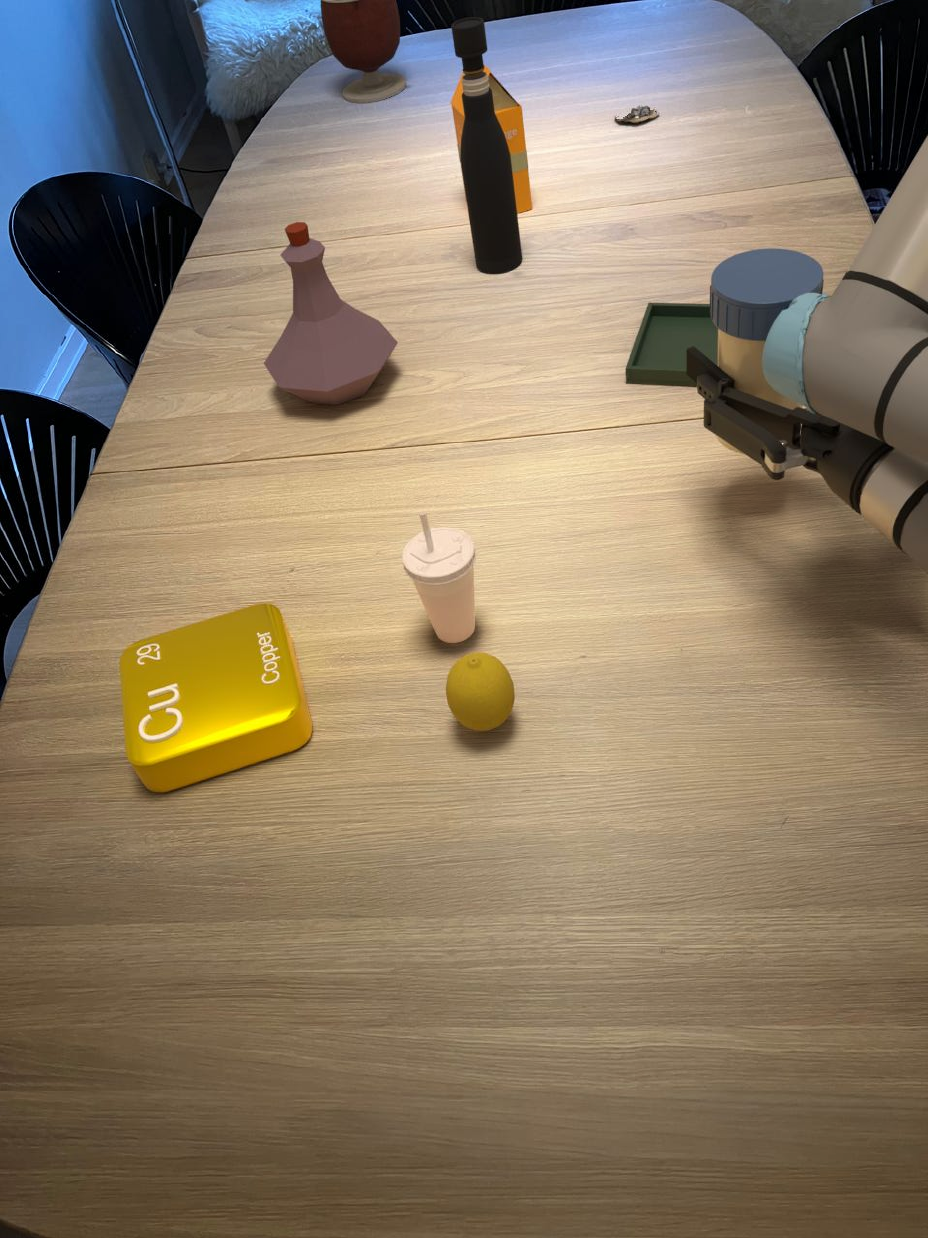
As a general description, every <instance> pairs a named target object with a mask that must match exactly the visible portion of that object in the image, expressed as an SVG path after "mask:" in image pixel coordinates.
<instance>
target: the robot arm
mask: <svg viewBox="0 0 928 1238" xmlns="http://www.w3.org/2000/svg"><path fill="white" fill-rule="evenodd" d="M762 368H763V373H764V376H765V379H766V381H767V383H768V384H770V386H771V389H773V390H774V391H776V392H778V393H780V394H782V395H783V396H785V397H787V398H789V399H791V400H793V401H795V402H797V403H799V404H801V405H803V407H805V408H803V407H802V408H800V407H796V408H795V409H794V410H791V409H788V408H786V407H783V406H780V405H777V404H775V403H772V402H769V401H766V400H764V399H761V398H758V397H755V396H753V395H750V394H747V393H744V392H742V391H739V390H736V389H734V379H732V378H731V377H730V376H729V375H728V374H726V373H725V372H724V371H723V370H722V369H720V368H719V367H718V366H717V365H716V364H715V363H713V362H712V361H711V360H710V359H709V358H707V357H706V356H705V355H704V354H703V353H701V352H700V351H699V350H698V349H697V348H695V347H694V346H693V347H690V348H688V349H687V362H686V375H687V376H689V377H690V378H691V379H692V380H693V381H694V382H695V383H697V387H696V391H697V394H698V395H699V396H700V397H702V398H703V421H702V423H703V427H704V428H705V429H706V430H708V431H709V432H710V433H712V434H714V435H715V436H716V435H717V436H718V437H720V438H721V439H723V440H724V441H726V442H727V443H729V444H730V445H732V446H733V447H735V448H736V449H738V450H739V451H741V452H742V453H744V454H743V455H745V456H747V457H748V458H749V459H751V460H753V461H755V462H756V463H757V464H759V465H761V467H762V468H763V470H764V471H765V473H766V474H767V476H768V477H769V478H770V479H771V480H773V481H780V480H782V479H784V477H785V472H786V470H791V469H795V468H798V467H803V468H804V469H806V470H809V471H813V472H815V473H817V474H819V475H821V477H822V478H823V480H824V482H825V483H826V485H827V486H828V488H829V489H830V490H831V492H832V493H833V494H835V495H836V496H837V497H838V498H839V499H841V501H843V502H844V503H845V504H846V505H848V506H849V507H850V508H851V509H852V510H853V511H854V512H855V513H857V514H859V515H861V516H862V517H863V519H864V520H865V521H866V522H868V523H869V524H870V525H871V526H872V527H873V528H874V529H876V530H877V531H878V532H879V533H880V534H881V535H883V536H884V537H885V538H886V539H887V540H888V541H890V542H891V543H892V544H893V545H894V546H895V547H897V548H898V549H899V550H900V551H901V552H902V553H903V554H905V555H906V556H907V557H910V558H911V559H912V560H913V561H914V562H915V563H916V564H917V565H918V566H919V567H920V568H921V569H923V570H924V571H925V572H926V573H927V574H928V135H927V136H926V138H925V139H924V141H923V143H922V144H921V146H920V147H919V149H918V151H917V152H916V154H915V156H914V158H913V160H912V161H911V163H910V165H909V167H907V169H906V171H905V173H904V175H903V176H902V178H901V180H900V181H899V183H898V184H897V186H896V188H895V190H894V192H893V193H892V195H891V197H890V198H889V200H888V201H887V204H886V205H885V207H884V208H883V210H882V212H881V213H880V215H879V217H878V219H877V221H876V222H875V224H874V226H873V227H872V229H871V230H870V232H869V233H868V236H867V238H866V239H865V241H864V242H863V244H862V246H861V247H860V249H859V251H858V252H857V254H856V255H855V257H854V259H853V261H852V262H851V264H850V266H849V268H848V269H847V271H846V272H845V274H844V275H843V276H842V278H841V281H840V282H839V283H838V285H837V286H836V288H835V289H834V291H833V292H832V295H830V294H828V293H822V294H818V293H806V294H803V295H800V296H798V297H797V298H795V299H794V300H793V301H792V302H791V303H790V306H789V308H788V309H786V310H783V311H782V312H781V313H780V314H779V315H778V317H777V318H776V320H775V321H774V323H773V325H772V327H771V329H770V331H769V333H768V336H767V339H766V342H765V345H764V349H763V356H762ZM779 440H780V441H779Z"/></svg>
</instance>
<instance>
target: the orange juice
mask: <svg viewBox="0 0 928 1238" xmlns="http://www.w3.org/2000/svg"><path fill="white" fill-rule="evenodd" d="M484 67H485V69H484V70H483V71H484V72H486V73H487V76H488V78H489V80H488V82H489V84H490V85H489V88H491V90H492V94H493V103H494V111H495V114H496V116H497V119H498V121H499V123H500V125H501V127H502V130H503V132H504V134H505V138H506V141H507V144H508V147H509V151H510V155H511V164H512V173H513V181H514V190H515V199H516V207H517V215H518V214H521V213H524V212H527V210H528V211H531V210H533V203H532V192H531V182H530V173H529V159H528V150H527V145H526V135H525V134H526V133H525V124H524V116H523V115H524V114H523V106H522V105H521V104H520V103H519V102H518V101H517V100H516V99H515V98H514V97H513V96H512V94H511V93H510V92H509V91H508V90H507V89H506V88H505V87H504V85H502V83H501V82H500V81H499V80H498V79H497V77H496V76H495V75H494V74H493V73H492V70H491V69H490V68H489V67H488V66H486V65H485V64H484ZM464 75H465V74H464V73H463V72H462V73H461V75H460V78H459V80H458V83H457V85H456V87H455V90H454V93H453V95H452V98H451V101H450V105H451V110H452V117H453V123H454V130H455V136H456V143H457V144H456V146H457V152H458V159H459V164H460V165H461V161H460V154H461V137H462V131H463V125H464V119H465V116H464V109H463V102H462V94H463V92H464V91H463V89H462V88H463V85H462V77H463V76H464ZM460 171H461V172H462V168H461V167H460ZM461 177H462V178H463V174H462V173H461ZM462 184H463V185H464V181H463V180H462ZM463 191H464V192H465V188H464V187H463ZM464 198H466V194H465V193H464ZM465 202H466V203H467V201H466V200H465ZM530 209H531V210H530Z"/></svg>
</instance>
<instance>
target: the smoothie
mask: <svg viewBox="0 0 928 1238" xmlns="http://www.w3.org/2000/svg"><path fill="white" fill-rule="evenodd" d="M418 514H419V519H420V522H421V523H420V524H421V528H422V531H421V532H419V533H418V534H416V535H414V536H413V537H412V538H411V539H409V540H408V542H407V543H406V544H405V546H404V548H403V550H402V553H401V560H402V564H403V566H402V567H403V571H404V573H405V574H406V575H407V576H408V577H409V578H410V579H411V580H412V582H413V585H414V587H415V589H416V591H417V594H418V596H419V599H420V601H421V603H422V605H423V607H424V610H425V612H426V614H427V617H428V618H429V621H430V623H431V625H432V627H433V630H434V632H435V634H436V637H437V638H438V639H439V640H440V641H442V642H443V643H444V642H445V643H449V644H456V643H462V642H464V641H465V640H468V639H469V638H470V637H471V636H472V635H473V634H474V632H475V629H476V616H475V615H476V614H475V613H476V609H475V607H476V606H475V578H474V577H475V575H474V574H475V573H474V570H475V569H474V565H475V564H476V561H477V558H478V557H477V556H478V555H477V554H478V553H477V548H476V547H475V542H474V540H473V538H472V537H471V536H470V535H469V534H468V533H467V532H466V531H463V530H461V529H459V528H455V527H450V526H449V527H448V526H441V527H440V526H438V527H433V528H430V524H429V519H428V516H427V512H426V511H425V510H420V511H419V512H418Z"/></svg>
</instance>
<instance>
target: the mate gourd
mask: <svg viewBox="0 0 928 1238" xmlns="http://www.w3.org/2000/svg"><path fill="white" fill-rule="evenodd" d="M320 15H321V16H320V17H321V23H322V26H323V32H324V35H325V38H326V41H327V43H328V47H329V49H330V51H331V53H332V56H333V57H334V58H335V59H336V60H337V61H338V62H339V63H340V64H341V65H342V66H343V67H344V68H346V69H349V70H354V71H359V72H363V77H362V78H358V79H357V80H354V81H353V82H350V83H349V84H347V85H346V86H345V87H344V88H343V90H342V97H343V99H344V100H345V101H347V102H350V103H353V104H367V103H368V104H369V103H376V102H380V101H384V100H387V99H390V98H392V97H394V95H395V96H396V94H397V95H399V94H400V93H401V91H402V90H403V89H404V90H405V89H406V87H407V84H408V83H407V79H406V77H404V76H402V75H401V74H397V73H396V74H395V73H381V72H380V71H379V69H380V68H381V67H383V66H384V65H386V64H387V63H388V62H390V61H392V59H394V57H395V55H396V53H397V51H398V49H399V46H400V43H401V19H400V14H399V8H398V4H397V0H320ZM404 90H403V91H404ZM403 91H402V92H403ZM391 96H392V97H391ZM389 97H390V98H389ZM386 98H387V99H386Z"/></svg>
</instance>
